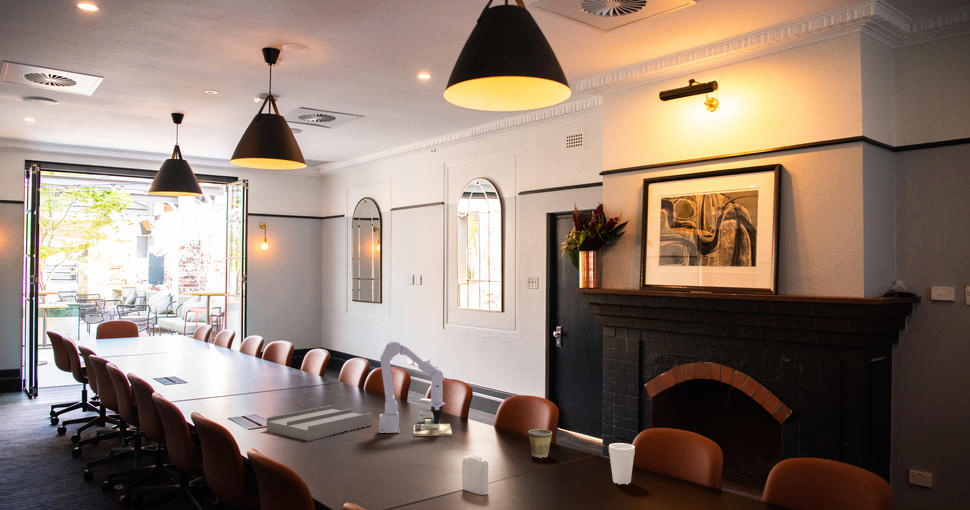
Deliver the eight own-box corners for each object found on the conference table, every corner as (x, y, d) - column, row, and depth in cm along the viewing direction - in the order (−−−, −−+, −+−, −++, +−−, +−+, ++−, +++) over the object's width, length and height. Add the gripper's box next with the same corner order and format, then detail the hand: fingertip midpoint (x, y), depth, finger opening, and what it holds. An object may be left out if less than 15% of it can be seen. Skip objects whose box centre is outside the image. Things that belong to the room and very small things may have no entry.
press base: (413, 436, 303) (413, 425, 304) (413, 427, 323) (414, 416, 323) (451, 436, 305) (451, 424, 305) (449, 426, 325) (449, 415, 325)
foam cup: (616, 476, 244) (616, 441, 245) (639, 481, 238) (639, 445, 239) (604, 482, 237) (604, 446, 237) (627, 487, 231) (627, 451, 232)
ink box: (436, 422, 336) (437, 399, 336) (431, 424, 331) (431, 400, 332) (423, 420, 340) (424, 397, 340) (418, 422, 336) (418, 399, 336)
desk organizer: (266, 431, 313) (266, 417, 313) (330, 418, 345) (331, 405, 345) (308, 441, 294) (308, 426, 294) (372, 426, 326) (372, 412, 327)
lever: (416, 430, 309) (416, 418, 309) (413, 429, 311) (414, 417, 311) (440, 428, 315) (440, 416, 315) (438, 426, 317) (438, 414, 318)
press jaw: (425, 427, 315) (425, 420, 315) (425, 426, 318) (425, 419, 318) (431, 427, 315) (431, 420, 315) (431, 426, 318) (431, 419, 318)
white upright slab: (460, 489, 227) (460, 454, 228) (468, 487, 230) (469, 452, 231) (481, 496, 220) (481, 460, 220) (490, 493, 223) (490, 457, 224)
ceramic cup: (550, 459, 267) (550, 435, 267) (526, 458, 269) (526, 433, 269) (553, 451, 279) (553, 428, 280) (530, 450, 281) (531, 427, 282)
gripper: (445, 396, 310) (445, 425, 309) (444, 391, 324) (444, 418, 323) (430, 396, 309) (430, 425, 308) (430, 391, 323) (430, 419, 323)
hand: (436, 422), depth 316 cm, fingers open, 3 cm apart
